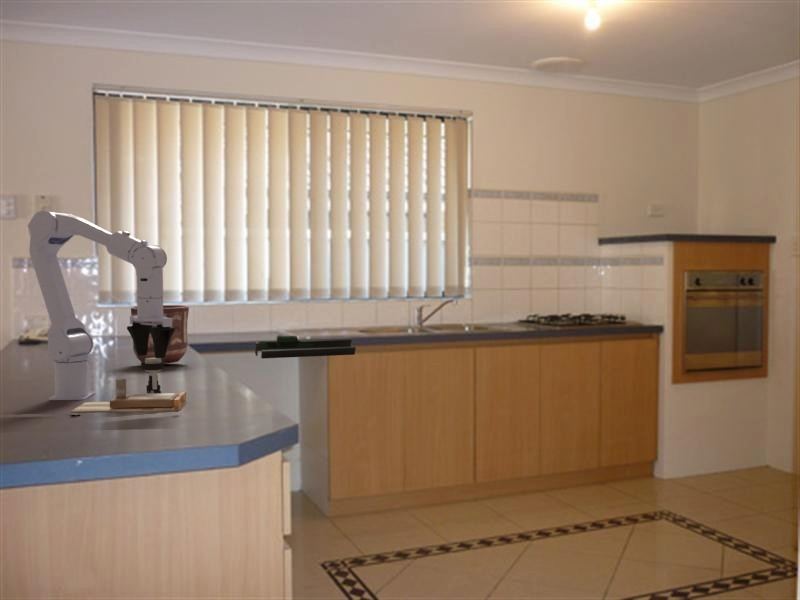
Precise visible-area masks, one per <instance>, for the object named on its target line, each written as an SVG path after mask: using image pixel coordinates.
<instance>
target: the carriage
mask: <svg viewBox="0 0 800 600" xmlns="http://www.w3.org/2000/svg"><path fill="white" fill-rule="evenodd" d="M115 388H116V390H115V392H116V393H115V394H116V396H114V397H113V398H112V399H110V400H109V402H110V408H131V407H173V406H174V399H175V398H176V397H177V396H178V395H179V393H176V392H170V393H169V392H165V393H164V392H163V393H162V392H161V393H154V394H148V393H133V394H132V393H130V394H127V379H126V378H116V380H115Z"/></svg>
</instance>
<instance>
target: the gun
mask: <svg viewBox="0 0 800 600" xmlns="http://www.w3.org/2000/svg"><path fill="white" fill-rule="evenodd" d="M352 342H353V340H352V338H337V339H335V338H334V339H308V340H306V339H305V340H299V339H298V336H297V335H279V334H278V335H277V336H276V340H271V341H270V340H269V341H266V340H265V341H264V340H259V341H256V340H255V344H254V353H255V356H256V357H257V356H258V355H259V353H258V352H259V351H260V352H261V353H260V355H261V356H260V358H261V359H263V360H264V359H279V358H280V359H283V358H285V359H287V358H304V357H305V358H306V357H307V358H308V357H309V358H310V357H326V356H327V357H329V356H353V355H356V354H355V353H356V346H352Z"/></svg>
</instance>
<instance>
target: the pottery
mask: <svg viewBox="0 0 800 600" xmlns="http://www.w3.org/2000/svg"><path fill="white" fill-rule="evenodd" d="M189 312H190V307H189V306H188V305H179V304H178V305H177V304H176V305H174V304H173V305H172V304H163V317H168V318H172V327H174V328H175V331H174V332H173V334H172V336H171V338H170V341H169V344H168V347H167V352H166V356H165V358H161V361H162V362H165V364H171V363H172V364H173V363H177V362H179V361H181V359H182V358H183V357H184V356H185V354H186V352H187V349H188V320H189V319H188V317H189ZM130 316H137V305H136V306H132V307H130ZM146 323H152V322H146ZM132 325H133V324H131V326H132ZM152 327H157V326H152ZM132 348H133V349H132V350H133V353H134V355H135V356H136V358H137V359H138V361H140V363H142V362H144V361H145V358H154V357H155V352H154V343H153V339H152V336H151V333H150V335H149V340H148V351H147V355H143V356H138V355H137V352H136V349H135V345H134V342H133V341H132ZM165 364H164V365H165Z"/></svg>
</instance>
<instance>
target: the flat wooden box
mask: <svg viewBox="0 0 800 600" xmlns="http://www.w3.org/2000/svg"><path fill="white" fill-rule="evenodd" d="M186 403H187V391H181V392H180V393H178V396H177V397H176V398H175V399H174V406H173V407H131V408H110V401H85V402H83V403H81V404H80V405H79V406H77V407H75V408H74V409H72V410H71V411H70V414H71V413H79V414H81V413H83V414H84V413H118V412H119V413H123V412H124V413H125V412H127V413H128V412H170V411H180V410H181V408H183V406H184V405H186Z"/></svg>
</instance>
